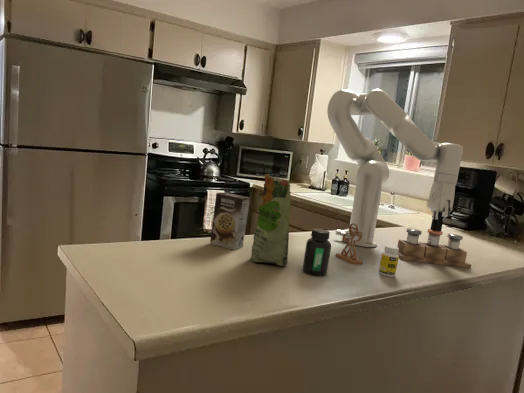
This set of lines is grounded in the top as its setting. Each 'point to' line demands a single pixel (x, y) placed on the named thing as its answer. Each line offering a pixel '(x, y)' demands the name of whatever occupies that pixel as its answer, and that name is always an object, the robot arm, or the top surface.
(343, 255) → the tan toy soldier
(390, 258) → the supplement bottle
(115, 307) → the top surface
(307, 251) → the supplement bottle
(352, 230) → the robot arm
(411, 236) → the plug
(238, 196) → the coffee box
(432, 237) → the plug mid
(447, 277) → the top surface
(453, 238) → the plug
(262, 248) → the pouch
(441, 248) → the socket board
